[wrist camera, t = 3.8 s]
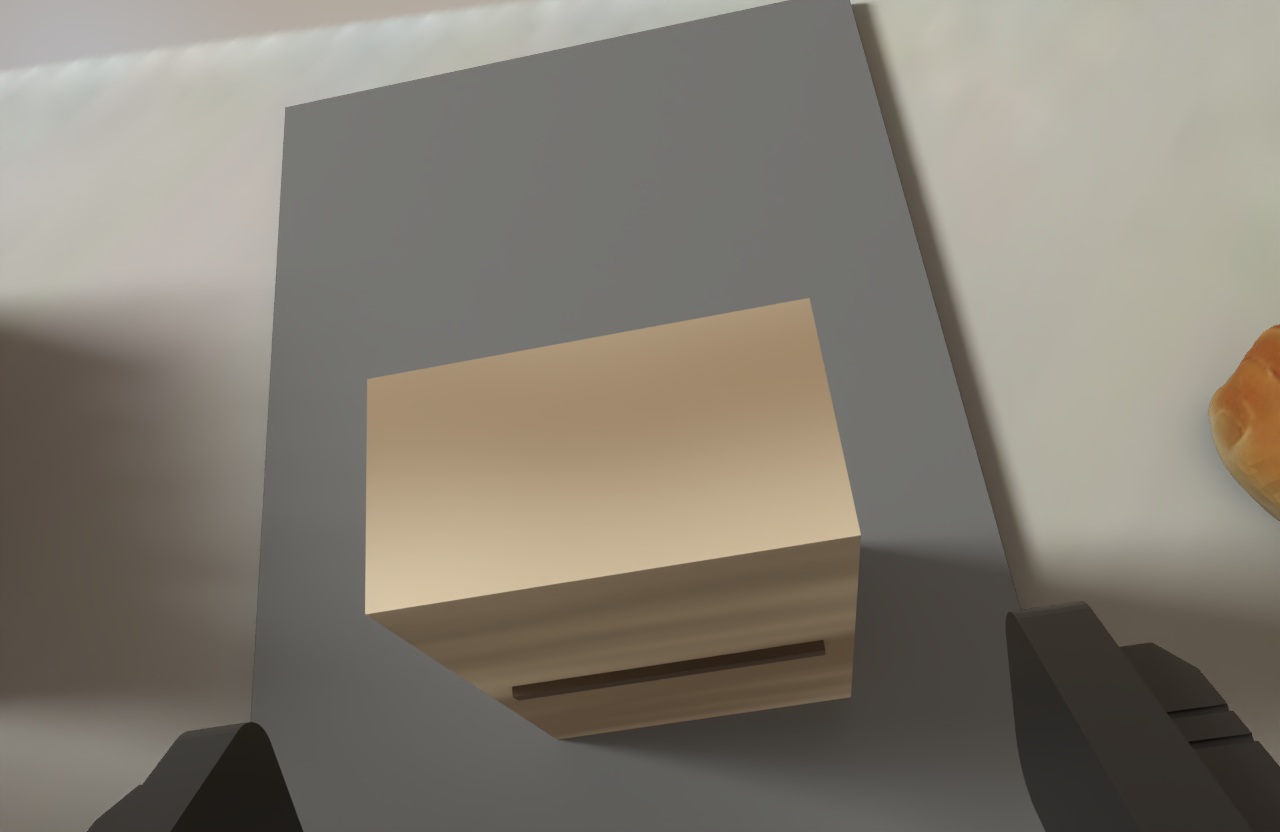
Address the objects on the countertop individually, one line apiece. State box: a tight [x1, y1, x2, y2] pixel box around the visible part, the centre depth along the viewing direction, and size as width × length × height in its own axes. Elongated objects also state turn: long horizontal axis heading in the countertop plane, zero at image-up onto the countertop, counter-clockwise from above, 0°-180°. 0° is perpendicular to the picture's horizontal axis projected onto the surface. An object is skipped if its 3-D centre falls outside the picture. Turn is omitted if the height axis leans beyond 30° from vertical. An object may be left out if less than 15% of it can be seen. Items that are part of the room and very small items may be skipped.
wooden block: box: [365, 298, 861, 740], centre depth 16 cm, size 3×6×9 cm, turn 97°
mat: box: [251, 0, 1045, 832], centre depth 22 cm, size 15×26×1 cm, turn 7°
